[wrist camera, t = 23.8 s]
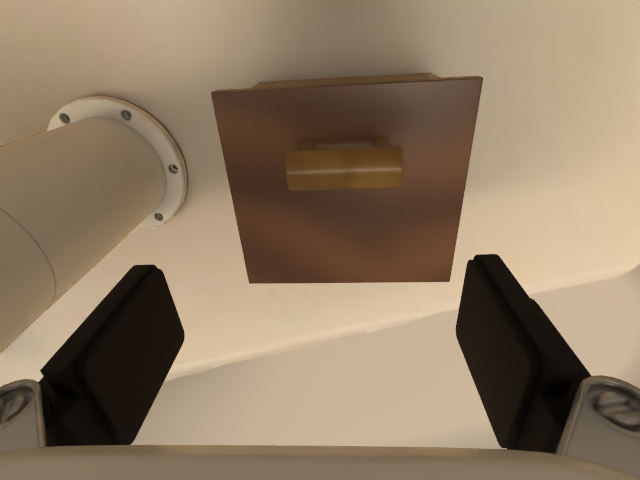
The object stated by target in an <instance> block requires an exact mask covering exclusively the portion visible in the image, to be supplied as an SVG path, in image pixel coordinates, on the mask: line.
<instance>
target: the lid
mask: <svg viewBox="0 0 640 480" xmlns="http://www.w3.org/2000/svg"><path fill="white" fill-rule="evenodd" d="M482 81H483V78H482V77H479V76H466V77H447V78H429V79H411V80H393V81H375V82H356V83H338V84H320V85H302V86H284V87H266V88H247V89H229V90H216V91H213V92H211V95H212V100H213V105H214V110H215V115H216V120H217V125H218V130H219V135H220V140H221V145H222V150H223V155H224V160H225V165H226V170H227V175H228V180H229V185H230V190H231V195H232V200H233V205H234V210H235V215H236V220H237V225H238V230H239V235H240V240H241V244H242V249H243V254H244V259H245V264H246V269H247V274H248V279H249V283H361V282H449V281H450V276H451V270H452V264H453V258H454V252H455V245H456V239H457V233H458V227H459V221H460V215H461V209H462V203H463V197H464V191H465V185H466V178H467V172H468V166H469V160H470V154H471V148H472V142H473V136H474V130H475V124H476V118H477V111H478V105H479V99H480V93H481V87H482Z"/></svg>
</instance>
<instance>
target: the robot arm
mask: <svg viewBox="0 0 640 480" xmlns="http://www.w3.org/2000/svg"><path fill="white" fill-rule="evenodd" d="M129 112H130V114H131V115H130V114H129ZM175 166H177V168H176V167H175ZM186 191H187V171H186V167H185V162H184V160H183V157H182V155H181V152H180V150H179V148H178V146H177V145H176V143H175V141H174V140H173V138H172V137H171V135H170V134H169V133H168V132H167V131H166V129H165V128H164V127H163V126H162V125H161V124H160V123H159V122H158V121H157V120H155V119H154V118H153V117H152V116H151V115H150V114H148V113H147V112H145V111H144V110H142V109H140V108H139V107H137V106H135V105H133V104H131V103H128V102H126V101H124V100H121V99H117V98H113V97H109V96H90V97H85V98H80V99H77V100H74V101H70V102H68V103H67V104H65V105H64V106H62V107H60V108H59V109H58V110H57V111H56V113H55V114H54V115H53V116H52V117H51V119H50V121H49V123H48V126H47V129H46V132H43V133H40V134H37V135H34V136H31V137H28V138H24V139H21V140H18V141H15V142H12V143H9V144H6V145H3V146H0V354H1V353H2V352H3V351H4V350H5V349H6V348H7V347H8V346H9V345H10V344H11V343H12V342H13V341H14V340H15V339H16V338H17V337H18V336H19V335H20V334H21V333H23V332H24V331H25V330H26V329H27V328H28V327H29V326H30V325H31V324H32V323H33V322H34V321H35V320H36V319H37V318H39V317H40V316H41V315H42V314H43V313H44V312H45V311H46V310H48V309H49V308H50V307H51V306H52V305H53V304H54V303H55V302H56V301H57V300H58V299H60V298H61V297H62V296H63V295H64V294H65V293H66V292H67V291H68V290H69V289H70V288H71V287H72V286H74V285H75V284H76V283H77V282H78V281H79V280H80V279H81V278H82V277H83V276H84V275H85V274H86V273H88V272H89V271H90V270H91V269H92V268H93V267H94V266H95V265H96V264H97V263H98V262H99V261H100V260H102V259H103V258H104V257H105V256H106V255H107V254H108V253H109V252H110V251H111V250H112V249H113V248H114V247H116V246H117V245H118V244H119V243H120V242H121V241H122V240H123V239H124V238H125V237H126V236H127V235H128V234H130V233H131V232H132V231H140V230H149V229H152V228H155V227H158V226H160V225H162V224H164V223H165V222H167V221H168V220H169V219H170V218H171V217H172V216H173V215H174V214H175V213H176V212H177V211H178V210H179V208H180V207H181V205H182V203H183V201H184V199H185V196H186ZM456 335H457V339H458V342H459V344H460V347H461V350H462V352H463V354H464V357H465V360H466V362H467V365H468V367H469V370H470V372H471V375H472V378H473V380H474V383H475V385H476V388H477V390H478V393H479V395H480V397H481V400H482V403H483V405H484V408H485V410H486V413H487V416H488V418H489V421H490V423H491V426H492V428H493V431H494V433H495V436H496V438H497V441H498V443H499V445H500V446H501V447H502V448H507V449H473V448H440V447H439V448H437V447H364V446H363V447H362V446H258V445H257V446H254V445H252V446H251V445H246V446H245V445H244V446H243V445H130V444H131V443H132V442H133V441H134V439H135V438H136V436H137V434H138V432H139V430H140V428H141V426H142V424H143V422H144V420H145V418H146V416H147V414H148V412H149V410H150V408H151V406H152V404H153V402H154V400H155V398H156V396H157V394H158V392H159V390H160V388H161V386H162V384H163V382H164V380H165V378H166V376H167V374H168V372H169V370H170V368H171V366H172V364H173V362H174V360H175V358H176V356H177V354H178V352H179V350H180V348H181V346H182V344H183V342H184V330H183V327H182V324H181V321H180V319H179V316H178V313H177V310H176V307H175V305H174V302H173V299H172V296H171V293H170V291H169V288H168V285H167V282H166V279H165V276H164V274H163V272H162V270H161V269H158V268H157V267H156V266H155V265H135V266H133V267H132V268H131V269H130V270H129V271H128V272H127V273H126V274H125V276H124V277H123V278H122V279H121V280H120V281H119V282H118V283H117V285H116V286H115V287H114V288H113V289H112V290H111V291H110V292H109V294H108V295H107V296H106V297H105V298H104V299H103V300H102V302H101V303H100V304H99V305H98V306H97V307H96V308H95V309H94V311H93V312H92V313H91V314H90V315H89V316H88V317H87V318H86V320H85V321H84V322H83V323H82V324H81V325H80V326H79V327H78V329H77V330H76V331H75V332H74V333H73V334H72V335H71V336H70V338H69V339H68V340H67V341H66V342H65V343H64V344H63V345H62V347H61V348H60V349H59V350H58V351H57V352H56V353H55V354H54V356H53V357H52V358H51V359H50V360H49V361H48V362H47V363H46V365H45V366H44V367H43V368H42V369H41V370H40V371H41V373H42V374H43V376H44V377H43V378H42V379H41V380H40V381H39V383H38V382H36V381H35V380H30V379H24V380H18V381H14V382H11V383H9V384H6V385H3V386H2V387H0V480H640V389H639V388H637V387H635V386H633V385H631V384H629V383H628V382H625V381H622V380H620V379H616V378H613V377H608V376H591V375H590V373H589V372H588V371H587V369H586V368H585V367H584V365H583V364H582V363H581V361H580V360H579V359H578V358H577V356H576V355H575V353H574V352H573V351H572V349H571V348H570V347H569V345H568V344H567V343H566V341H565V340H564V339H563V337H562V336H561V335H560V333H559V332H558V331H557V329H556V328H555V327H554V325H553V324H552V322H551V321H550V320H549V318H548V317H547V316H546V314H545V313H544V312H543V310H542V309H541V308H540V306H539V305H538V304H537V303H536V302H535V301H534V300H533V299H531V298H529V296H528V295H527V294H526V292H525V291H524V290H523V288H522V287H521V285H520V284H519V283H518V281H517V280H516V279H515V277H514V276H513V274H512V273H511V272H510V270H509V269H508V268H507V266H506V265H505V264H504V262H503V261H502V259H501V258H500V257H499V256H498V255H497V254H487V255H476V256H475V257H474V259H473V260H469V261H468V263H467V268H466V273H465V279H464V285H463V290H462V296H461V301H460V307H459V313H458V319H457V325H456Z"/></svg>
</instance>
